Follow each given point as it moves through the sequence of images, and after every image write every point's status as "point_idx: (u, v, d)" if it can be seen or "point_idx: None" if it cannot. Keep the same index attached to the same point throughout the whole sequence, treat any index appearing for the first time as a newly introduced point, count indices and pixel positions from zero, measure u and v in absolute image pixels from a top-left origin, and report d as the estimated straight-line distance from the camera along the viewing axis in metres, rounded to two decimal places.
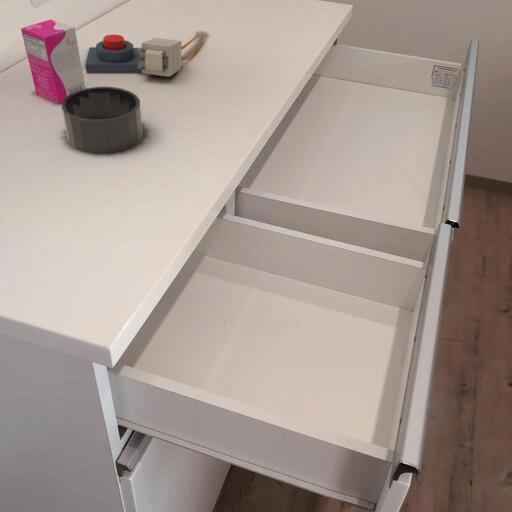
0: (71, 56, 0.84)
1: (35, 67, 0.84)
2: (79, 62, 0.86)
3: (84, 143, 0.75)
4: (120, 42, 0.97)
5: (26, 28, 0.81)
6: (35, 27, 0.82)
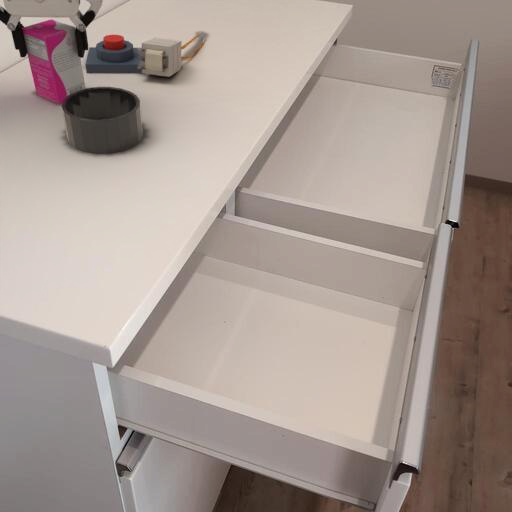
0: (72, 56, 0.84)
1: (36, 67, 0.84)
2: (79, 62, 0.86)
3: (84, 143, 0.75)
4: (120, 42, 0.97)
5: (26, 28, 0.81)
6: (35, 27, 0.82)
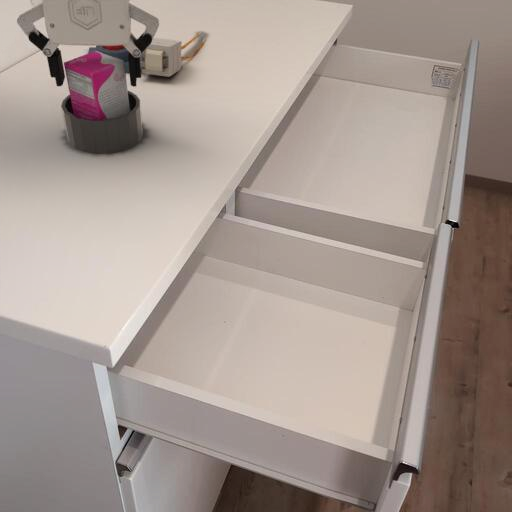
0: (119, 92, 0.74)
1: (78, 105, 0.75)
2: (127, 98, 0.76)
3: (84, 143, 0.75)
4: None
5: (69, 63, 0.72)
6: (79, 61, 0.72)
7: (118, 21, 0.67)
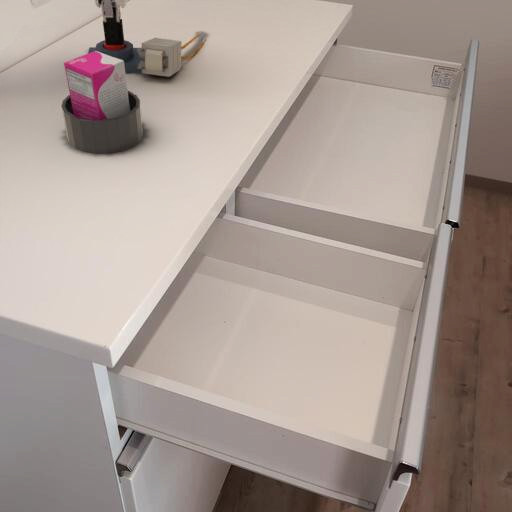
0: (119, 92, 0.74)
1: (78, 105, 0.75)
2: (127, 98, 0.76)
3: (84, 143, 0.75)
4: (121, 47, 0.97)
5: (69, 63, 0.72)
6: (79, 61, 0.72)
7: None
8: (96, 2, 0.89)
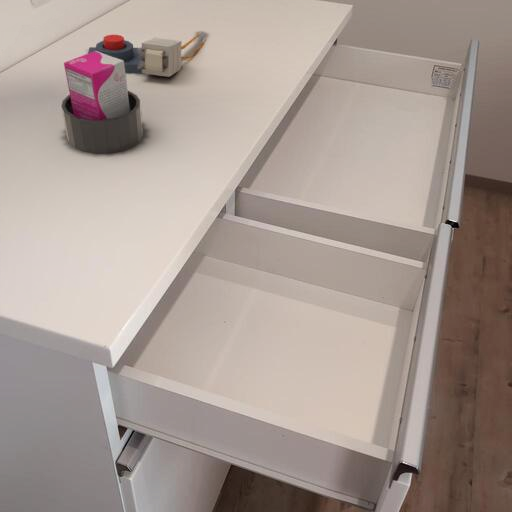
0: (119, 92, 0.74)
1: (78, 105, 0.75)
2: (127, 98, 0.76)
3: (84, 143, 0.75)
4: (120, 42, 0.97)
5: (69, 63, 0.72)
6: (79, 61, 0.72)
7: None
8: None
